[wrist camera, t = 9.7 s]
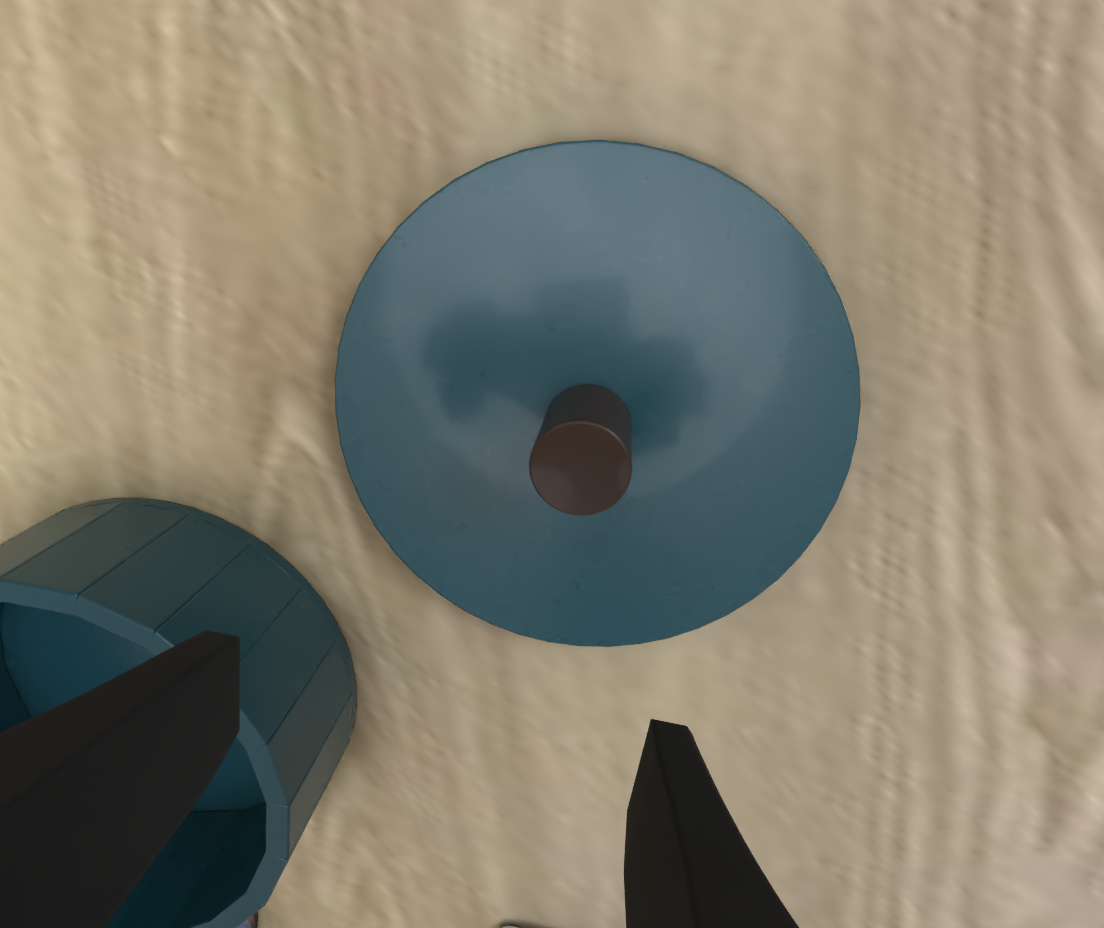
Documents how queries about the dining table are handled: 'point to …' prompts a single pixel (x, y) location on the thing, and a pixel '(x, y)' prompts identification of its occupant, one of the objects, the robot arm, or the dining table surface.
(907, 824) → the dining table surface
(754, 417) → the lid
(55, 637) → the pan
